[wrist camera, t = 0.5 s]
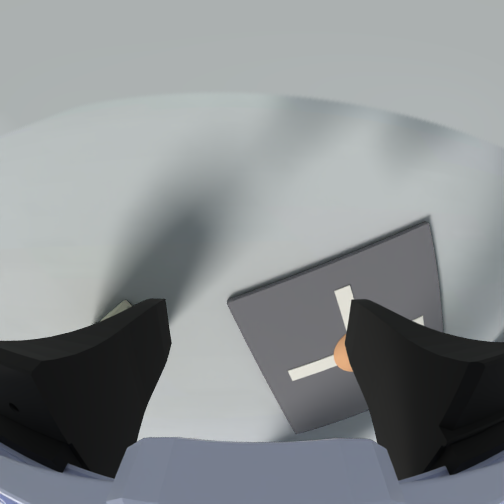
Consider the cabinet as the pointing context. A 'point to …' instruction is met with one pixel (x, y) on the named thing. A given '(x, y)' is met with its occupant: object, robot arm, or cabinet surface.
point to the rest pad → (334, 322)
